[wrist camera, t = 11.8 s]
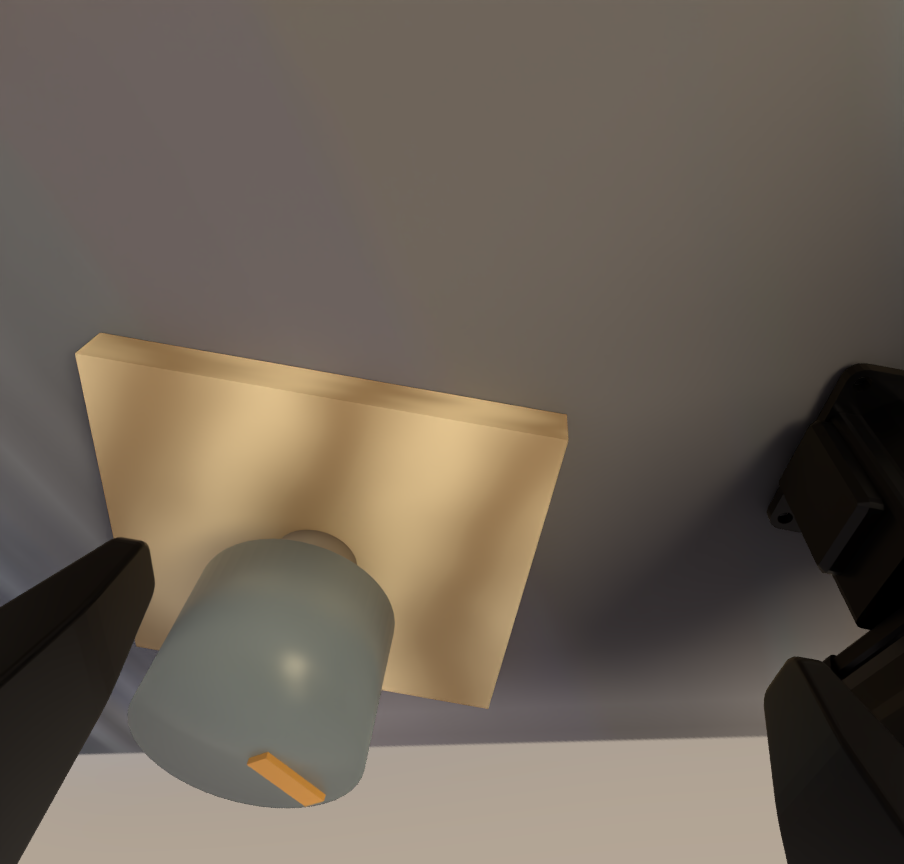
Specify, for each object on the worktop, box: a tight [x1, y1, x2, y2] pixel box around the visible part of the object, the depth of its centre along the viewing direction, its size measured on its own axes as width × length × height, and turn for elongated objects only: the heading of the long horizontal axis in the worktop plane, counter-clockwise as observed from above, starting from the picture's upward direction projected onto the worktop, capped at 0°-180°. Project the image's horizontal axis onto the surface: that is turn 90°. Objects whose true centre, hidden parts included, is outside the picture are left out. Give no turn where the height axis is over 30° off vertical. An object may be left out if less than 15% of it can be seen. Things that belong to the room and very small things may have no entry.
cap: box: [127, 539, 395, 808], centre depth 21 cm, size 7×7×5 cm
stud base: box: [75, 333, 568, 709], centre depth 25 cm, size 16×15×4 cm
